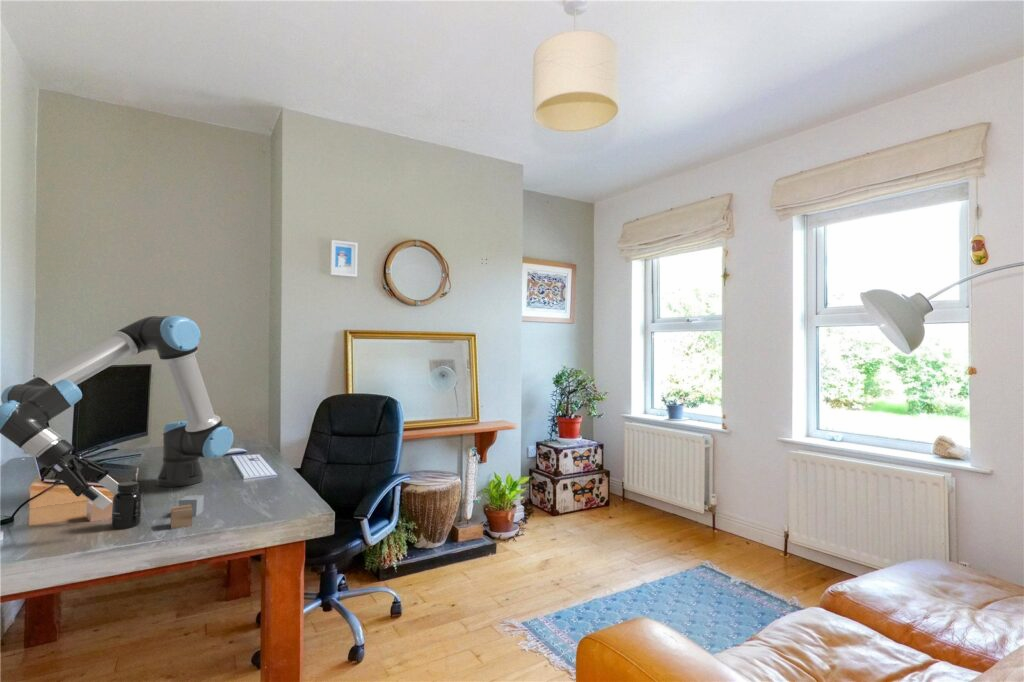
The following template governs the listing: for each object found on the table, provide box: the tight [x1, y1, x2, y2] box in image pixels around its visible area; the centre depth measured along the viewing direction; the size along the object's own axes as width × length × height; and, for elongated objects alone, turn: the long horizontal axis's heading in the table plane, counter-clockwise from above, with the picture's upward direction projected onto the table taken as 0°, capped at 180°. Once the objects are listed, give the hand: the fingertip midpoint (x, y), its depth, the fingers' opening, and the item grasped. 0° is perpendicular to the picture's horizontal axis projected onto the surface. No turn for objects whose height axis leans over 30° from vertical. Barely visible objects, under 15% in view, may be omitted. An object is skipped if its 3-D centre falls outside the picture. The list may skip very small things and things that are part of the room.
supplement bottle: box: [110, 481, 143, 530], centre depth 147 cm, size 7×7×12 cm
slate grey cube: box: [178, 494, 205, 517], centre depth 159 cm, size 5×5×5 cm
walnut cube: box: [170, 505, 193, 530], centre depth 148 cm, size 5×5×5 cm
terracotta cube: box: [86, 497, 113, 522], centre depth 153 cm, size 5×5×5 cm
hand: (114, 499), depth 145 cm, fingers open, 13 cm apart
